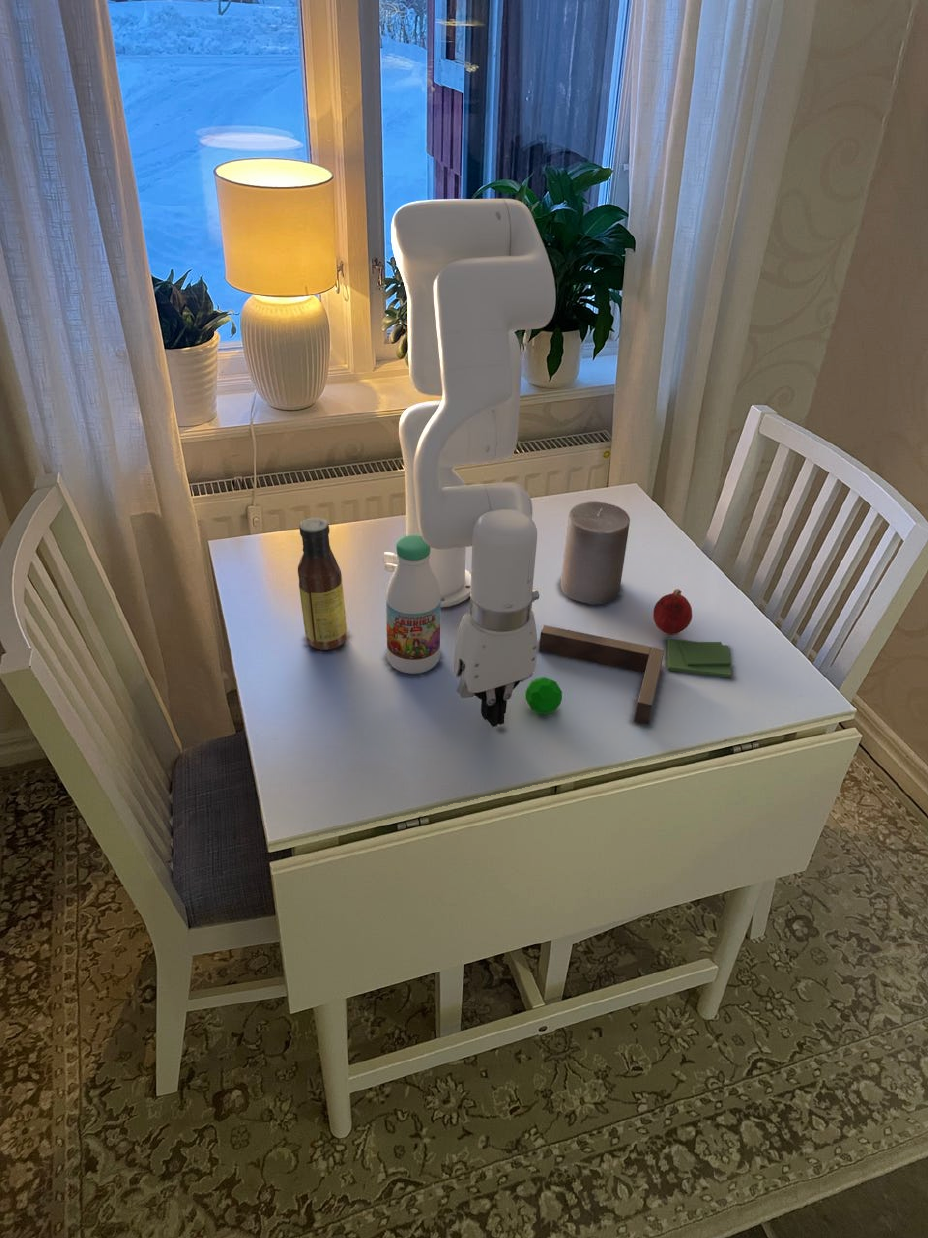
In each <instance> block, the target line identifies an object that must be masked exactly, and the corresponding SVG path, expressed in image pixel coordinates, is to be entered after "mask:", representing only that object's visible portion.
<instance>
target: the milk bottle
mask: <svg viewBox="0 0 928 1238" xmlns="http://www.w3.org/2000/svg"><path fill="white" fill-rule="evenodd" d="M395 545H396V546H395V550H396V554H397V555H396V556H397V559H398V564H397V567H396V569H395V571H394V572H392V575H391V577H390V579H389V582H388V584H387V588H386V595H385V596H386V601H385V604H386V605H385V608H386V609H385V615H386V616H385V623H386V627H385V628H386V629H385V631H386V657H387V662H388V663H389V664H390V665H391V667H392V668H393V669H394V670H396V671H398V672H401V673H404V674H411V675H413V674H422V673H427V672H429V671H431V670H432V669H433V668H435V666H436V665H437V664H438V662H439V660H440V655H441V654H440V653H441V618H442V617H441V612H442V611H441V608H442V607H441V601H440V589H439V585H438V582H437V579H436V577H435V575H434V574H433V572H432V570H431V567H430V564H429V558H430V549H431V547H430V546H429V545H428V544H426V542H425V541H424V540H423V538H422V536H420V535H406V534H405V535H403V536H401V537H400V538H399V539H398V540H397V541H396V544H395Z"/></svg>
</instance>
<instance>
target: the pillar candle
mask: <svg viewBox="0 0 928 1238" xmlns="http://www.w3.org/2000/svg"><path fill="white" fill-rule="evenodd" d="M630 523H631V518H630V516H629V514H628V512H627V511H626V510H625V509H623V508H622V507H620V506H618V505H615V504H612V503H608V502H606V501H605V502H603V501H596V500H595V501H585V502H581V503H578V504H576V505H574V506H573V507H571V509H570V510H569V512H568V515H567V523H566V524H567V525H566V535H565V542H564V552H563V559H562V569H561V576H560V577H561V578H560V590H561V591H562V594H564V595H565V596H566V597H567V598H568V599H570V600H573V601H577V602H580V603H584V604H587V605H592V606H593V605H594V606H595V605H603V604H608V603H610V602H612V601H614V600H615V599H616V598H617V597H618V596H619V593H620V590H621V583H622V577H623V571H624V563H625V558H626V551H627V545H628V538H629V530H630Z"/></svg>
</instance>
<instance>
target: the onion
mask: <svg viewBox="0 0 928 1238" xmlns="http://www.w3.org/2000/svg"><path fill="white" fill-rule="evenodd" d="M652 614H653V615H652V619H653V621H654V623H655V625H656V627H657V628H658V629H659V630H660V631H661V632H663V633H664V634H666V635H677V634H679V633H681V632H683V631H684V630H686V629H687V628H688V627H689V626H690V624H691V622H692V619H693V607H692V604H691V603H690V602H689V600H688V598H686V597H685V595H682V590H681V589H680V588H677V589H674V590H673V592H672V593H668V594H666V595H663V596H662V597H661V598H660V599H659V600H657V602H656V603H655V605H654V607H653V613H652Z"/></svg>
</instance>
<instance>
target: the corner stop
mask: <svg viewBox="0 0 928 1238" xmlns="http://www.w3.org/2000/svg"><path fill="white" fill-rule="evenodd" d="M538 651H539V652H543V653H548V654H552V655H556V656H557V655H558V656H562V657H567V658H572V659H577V660H581V661H586V662H590V663H595V664H599V665H605V666H609V667H613V668H618V669H624V670H628V671H631V672H632V671H633V672H637V673H642V674H644V675H643V678H642V681H641V685H640V686H641V687H640V691H639V695H638V698H637V704H636V709H635V714H634V720H633V722H634V723H638V724H643V725H650V722H651V721H650V720H651V716H652V712H653V706H654V702H655V698H656V694H657V688H658V684H659V680H660V674H661V670H662V665H663V660H664V656H665V652H666V650H665V649H663V648H659V647H655V646H648V645H644V644H639V643H634V642H628V641H624V640H619V639H615V638H610V637H604V636H599V635H594V634H589V633H585V632H580V631H575V630H570V629H566V628H560V627H556V626H551V625H546V624H543V626H542V628H541V630H540V635H539V645H538Z"/></svg>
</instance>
